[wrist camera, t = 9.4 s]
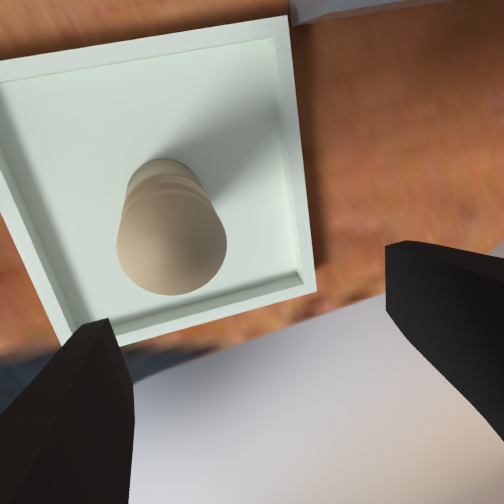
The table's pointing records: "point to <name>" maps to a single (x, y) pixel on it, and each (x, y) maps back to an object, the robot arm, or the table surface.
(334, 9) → the charcoal bin
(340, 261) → the table surface
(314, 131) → the table surface
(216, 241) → the birch pin
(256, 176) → the sage tray
